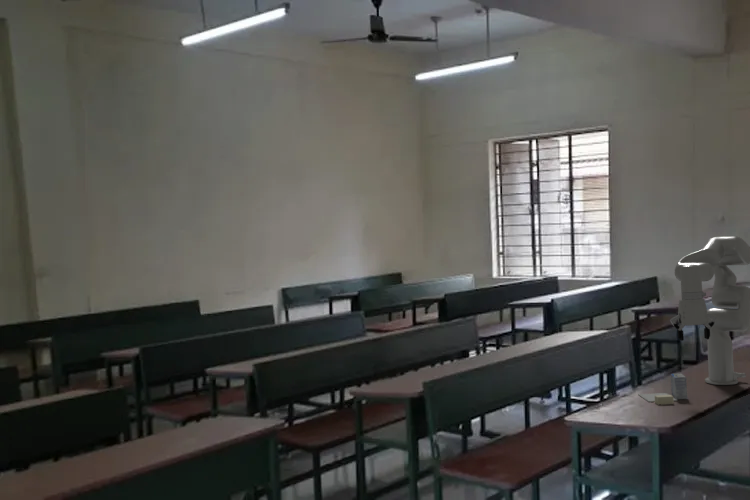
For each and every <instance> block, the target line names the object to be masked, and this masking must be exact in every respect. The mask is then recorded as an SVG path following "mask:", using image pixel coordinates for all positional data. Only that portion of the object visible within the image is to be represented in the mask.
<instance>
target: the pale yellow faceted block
mask: <svg viewBox="0 0 750 500" xmlns="http://www.w3.org/2000/svg"><path fill="white" fill-rule="evenodd" d="M673 397H674V396H673V395H672V394H669V395H656V396H655V402H654V404H656V405H659V404H661V405H674V402H675V401H674V400H673ZM659 406H660V405H659Z"/></svg>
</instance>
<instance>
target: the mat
mask: <svg viewBox="0 0 750 500" xmlns="http://www.w3.org/2000/svg"><path fill="white" fill-rule="evenodd" d="M656 395H670V394H669V393H667V392H658V393H657V392H656V393H638V396H639V397H641V398H642V399H643V400H645V401H646V402H648V403H655V396H656ZM673 400H674V402H678V400H679V399H676V398H675V397H674V396H673Z"/></svg>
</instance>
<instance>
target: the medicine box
mask: <svg viewBox="0 0 750 500" xmlns="http://www.w3.org/2000/svg"><path fill="white" fill-rule="evenodd" d="M670 384H671V386H670V387H671V389H670V390H671V395H672V396H673V397H674V398H675V399H677V400H688V398H689V397H688V385H687V384H688V383H687V377H686V376H685V375H684V374H683V373H670Z"/></svg>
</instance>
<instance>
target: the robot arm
mask: <svg viewBox="0 0 750 500" xmlns="http://www.w3.org/2000/svg"><path fill="white" fill-rule="evenodd" d="M748 265H750V245H749V244H748V243H747V242H746V241H745V240H744V239H743V238H741V237H740V236H737V235H730V236H728V235H727V236H726V235H725V236H723V235H722V236H714V237H711V238H709V239H708V240H707V241H706V242H705V244H704V245H703V247H702V248H701V249H700V250H697V251H694V252H691V253H689V254H687V255H684V256H683V257H682V258H681V259H679V261H678V262H677V263H676V265H675V267H674V276H675V278H676V280H678V281H680V290H681V293H680V294H681V299H679V301H678V307H677V308H678V309H677V315H675V316H673V317H672V318H670V319H669V321H670V323H671V325H672V326H673V327H674V328H675V329H676V330H677V338H678V340H679V341H684V340H685V338H684V330H683V329H684V328H685V326H701V325H702V326H703V327H704V328H703V333H704V334H703V335H704V339H705V340H706V341H707V359H708V360H707V361H708V362H707V363H708V364H707V365H708V367H707V368H708V376H707V377H706V378H704V381H705V383H707V384H709V385H716V386H733V385H736V384H737V385H738V383H739V378H746V377H747V375H746V372H737V371H734V353H733V340H732V338H731V336H730V335H729V334H728V333H727V332H746V331H747V330H749V328H750V287H749V286H745V285H737V278H738V277H737V276H736V274H735V273H734V271H732V270H731V269H730V267H728V266H748ZM713 277H714V282H713V288H712V293H711V303H712V305H713V306H715V307H713V308H712V307H711V308H708V309H707V305H706V301H705V299H704V297H706V296H707V293H706V292H704V291H703V283H702V282H709V281H711V280H712V279H713ZM676 321H678V324H677V323H676Z"/></svg>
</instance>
